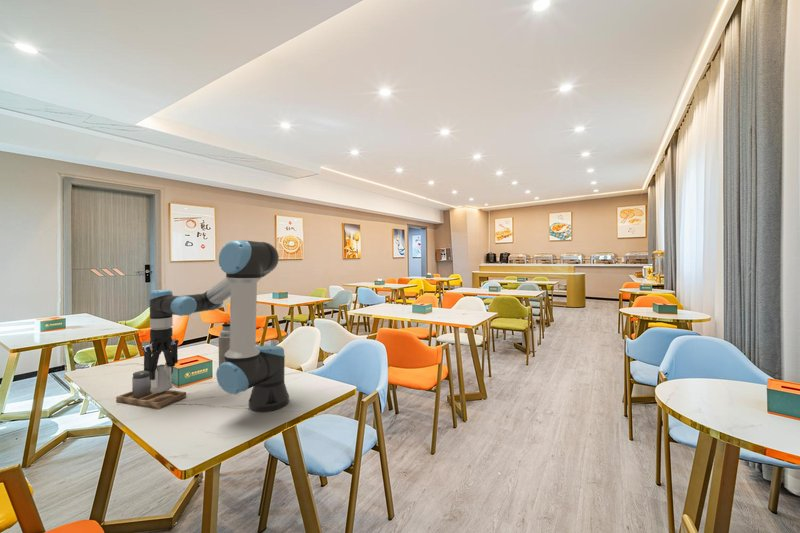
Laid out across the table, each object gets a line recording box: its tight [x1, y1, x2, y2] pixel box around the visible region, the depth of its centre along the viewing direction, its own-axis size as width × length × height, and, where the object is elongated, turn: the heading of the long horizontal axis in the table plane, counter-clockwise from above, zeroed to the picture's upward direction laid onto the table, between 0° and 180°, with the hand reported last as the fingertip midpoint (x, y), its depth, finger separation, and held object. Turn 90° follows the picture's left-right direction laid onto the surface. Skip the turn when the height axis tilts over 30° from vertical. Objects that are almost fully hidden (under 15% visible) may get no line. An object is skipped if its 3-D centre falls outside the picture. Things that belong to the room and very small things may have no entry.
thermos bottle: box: [218, 322, 230, 367], centre depth 158 cm, size 8×8×28 cm
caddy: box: [115, 389, 187, 410], centre depth 139 cm, size 23×12×2 cm, turn 73°
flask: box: [150, 364, 173, 393], centre depth 137 cm, size 7×7×10 cm
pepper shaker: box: [131, 369, 152, 399], centre depth 140 cm, size 6×6×10 cm
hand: (161, 384), depth 137 cm, fingers closed on flask, 5 cm apart
